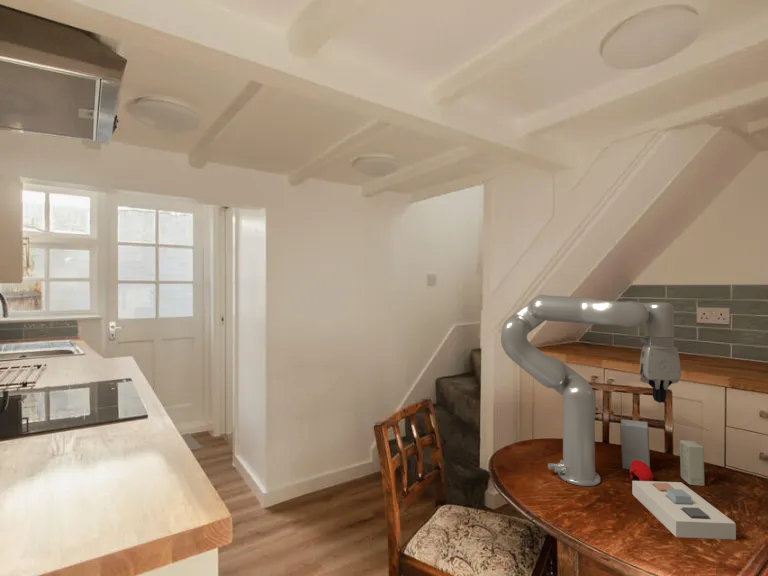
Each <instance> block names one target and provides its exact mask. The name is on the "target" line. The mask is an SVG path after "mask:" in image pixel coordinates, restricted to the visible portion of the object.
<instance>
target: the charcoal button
mask: <svg viewBox="0 0 768 576" xmlns="http://www.w3.org/2000/svg"><path fill="white" fill-rule="evenodd" d="M682 511H683V512H685V513H686V514H687V515H688V516H689V517H690V518H693V519H709V516H708V515H707V514H706V513H704V512H703V511H702V510H701V509H699V508H689V507H682Z"/></svg>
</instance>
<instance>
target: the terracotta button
mask: <svg viewBox="0 0 768 576" xmlns="http://www.w3.org/2000/svg"><path fill="white" fill-rule="evenodd" d="M653 486H654V487H656V488H657V489H658V490H659V491H660V492H667V489H674V488H673V487H672V486H671V485H669V484H668V483H653Z"/></svg>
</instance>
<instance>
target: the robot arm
mask: <svg viewBox="0 0 768 576" xmlns="http://www.w3.org/2000/svg"><path fill="white" fill-rule="evenodd" d="M674 311H675V309H674V305H673V304H672V303H670V302H664V301H663V302H662V301H659V302H658V301H655V302H654V301H652V302H651V301H650V302H639V301H632V300H631V301H629V300H628V301H616V300H615V301H614V300H601V299H600V300H599V299H594V298H590V297H585V296H584V297H583V296H582V297H581V296H563V295H562V296H561V295H547V294H539V295H537V296H535V297H534V298H532V299H531V300H530V301H529V302H527V304H526V305H524V306H523V307H522V308H520V309H519V310H517V311H516V312H515V313H513V314H512V315H511V316H509V317H508V318H507V319H506V320H505V321H504V323H503V325H502V328H501V333H500V334H501V335H500V341H501V342H500V344H501V346H502V349H503V351H504V352H505V354H506V355H507V357H508V358H510V360H511V361H513V362H514V363H515V364H517V366H519V368H521V369H522V370H523V371H524V372H526V373H527V374H529V376H531V377H532V378H533V379H535V380H536V381H537V382H538V383H539V384H540V385H542V386H544V387H545V388H547V389H553V390H555V392H557V393H558V394H560V395H561V396H562V459H560V460H559V461H560V462H557V463H553V462H551V463H547V468H548V469H547V470H549V471H550V470H553V471H554V473H557V475H558V477H559V478H560V479H562V481H564V482H566V481H567V483H568V484H569V483H570V484H572V485H576V486H581V487H593V486H597V485H599V484H600V483H601V476H600V475H599V474H598V473H597V472H596V437H595V436H596V433H595V432H596V431H595V428H596V427H595V426H596V425H595V423H596V422H595V421H596V405H597V404H596V403H597V402H596V395H595V392H594V390H593V388H592V386H591V384H590V383H589V381H587V379H586V378H584V377H583V376H582V375H580V374H579V373H578V372H576V371H575V370H574V369H573V368H571V367H570V366H569V365H568V364H566V363H564V362H563V361H562V360H561V359H559V358H557V357H556V356H555V357H554V356H551V355H547V354H545V353H544V352H542V351H541V350H540V349H539V348H537V347H536V346H535V345H533V344H532V343H531V342H530V341H529V340H528V334H529V333H531V332H532V331H533V330H535V329H536V328H537V327H538V326H539V327H540V325H541V324H542V323H544V322H546V321H547V322H561V323H563V322H564V323H573V324H585V325H602V326H612V327H613V326H614V327H627V328H628V327H629V328H637V327H641V326H643V325H644V336H643V338H642V337H641V338H640V343H641V344H644V345H643V346H642V348H641V352H640V358H639V375H640V378H639V380H640V382H642V383H646V384H648V385H649V386H650V387H651V388H652V399H653V400H654V401H655V402H657V403H659V404H660V403H663V404H665V403H666V399H667V390H668V388H669V387H670V386H671V385H672V384H678V383H679V382H680V381H679V380H681V377H682V372H681V371H682V370H681V368H682V367H681V362H680V361H681V360H680V353H679V350H678V348H677V347H676V346H675V345H674V344H675V343H674V342H675V338H674V335H675V334H674V333H675V331H674V330H675V329H674V328H675V323H674V322H675V321H674V320H675V319H674V318H675V317H674V315H675V314H674Z"/></svg>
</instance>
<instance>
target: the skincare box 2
mask: <svg viewBox="0 0 768 576" xmlns="http://www.w3.org/2000/svg"><path fill="white" fill-rule="evenodd" d="M704 453H705V452H704V446H702V445H701V444H699V443H698V442H696V441H695V440H681V439H680V440H679V459H680V460H679V461H680V477H681V478H682V480H684V481H685V482H686V483H687V484H688V485H691V486H701V487H705V460H704V459H705V458H704V457H705V455H704Z"/></svg>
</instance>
